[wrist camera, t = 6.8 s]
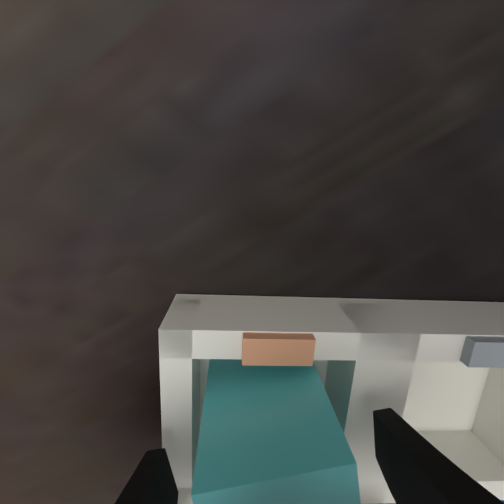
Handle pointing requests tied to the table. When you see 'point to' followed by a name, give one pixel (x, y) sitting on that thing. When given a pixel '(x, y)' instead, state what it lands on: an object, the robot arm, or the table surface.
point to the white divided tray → (348, 372)
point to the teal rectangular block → (271, 439)
